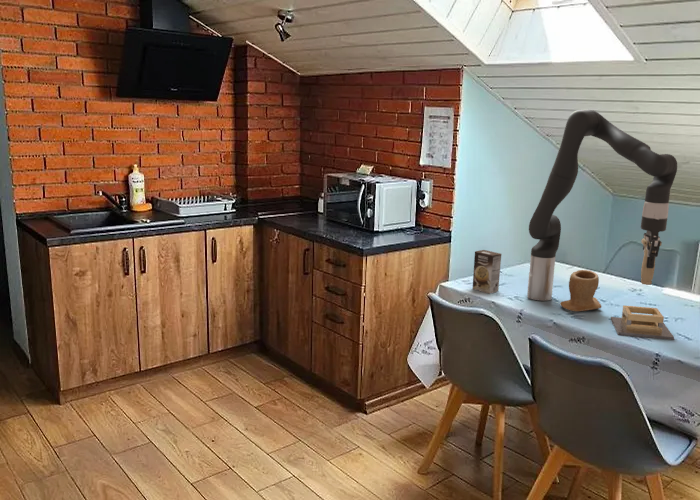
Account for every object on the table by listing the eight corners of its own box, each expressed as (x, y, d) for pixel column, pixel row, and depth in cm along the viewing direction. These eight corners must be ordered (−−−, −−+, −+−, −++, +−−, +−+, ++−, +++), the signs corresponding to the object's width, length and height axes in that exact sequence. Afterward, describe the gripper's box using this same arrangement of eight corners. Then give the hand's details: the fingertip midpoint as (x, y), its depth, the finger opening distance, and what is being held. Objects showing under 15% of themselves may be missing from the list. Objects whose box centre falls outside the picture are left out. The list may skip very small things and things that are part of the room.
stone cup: (575, 316, 222) (579, 276, 218) (555, 306, 233) (559, 268, 230) (610, 312, 226) (614, 273, 223) (588, 303, 237) (592, 265, 234)
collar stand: (617, 334, 204) (620, 316, 203) (610, 319, 219) (612, 302, 218) (673, 340, 200) (676, 321, 198) (662, 323, 215) (664, 306, 214)
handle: (645, 280, 210) (650, 238, 206) (659, 286, 204) (665, 242, 200) (633, 281, 208) (638, 238, 205) (646, 287, 202) (652, 242, 199)
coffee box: (471, 289, 254) (473, 251, 250) (481, 286, 258) (483, 249, 255) (489, 294, 247) (492, 255, 244) (499, 291, 252) (502, 253, 248)
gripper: (638, 211, 208) (632, 260, 212) (647, 218, 195) (640, 270, 199) (662, 212, 207) (655, 262, 210) (672, 220, 193) (665, 272, 197)
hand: (648, 266), depth 205 cm, fingers closed on handle, 4 cm apart
